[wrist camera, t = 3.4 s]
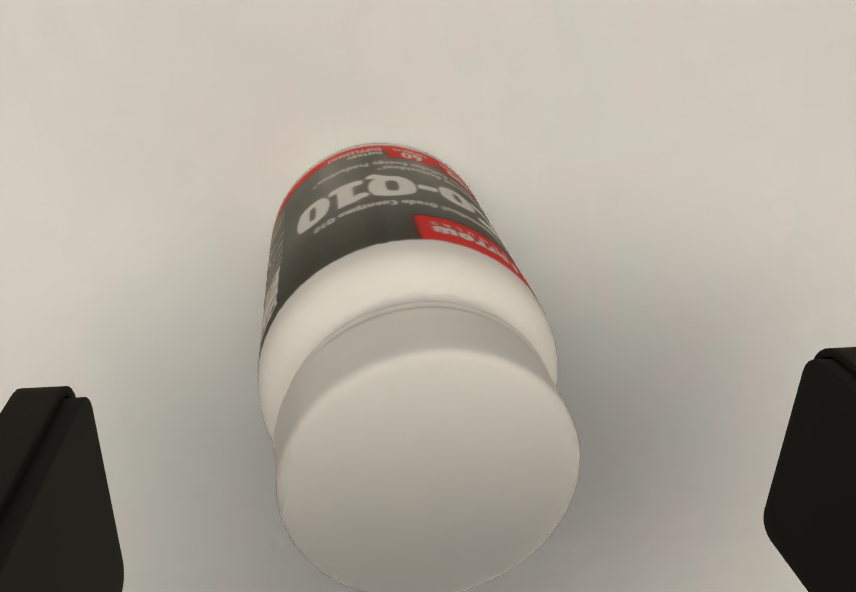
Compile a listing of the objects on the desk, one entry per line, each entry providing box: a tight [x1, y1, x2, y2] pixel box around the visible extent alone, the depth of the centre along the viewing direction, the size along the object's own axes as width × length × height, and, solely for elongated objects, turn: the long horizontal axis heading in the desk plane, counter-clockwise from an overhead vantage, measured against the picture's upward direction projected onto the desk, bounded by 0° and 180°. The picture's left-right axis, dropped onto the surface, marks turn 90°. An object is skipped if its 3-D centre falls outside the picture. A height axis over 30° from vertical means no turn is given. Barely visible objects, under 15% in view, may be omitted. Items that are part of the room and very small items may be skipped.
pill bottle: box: [258, 143, 580, 592], centre depth 14 cm, size 5×5×8 cm
